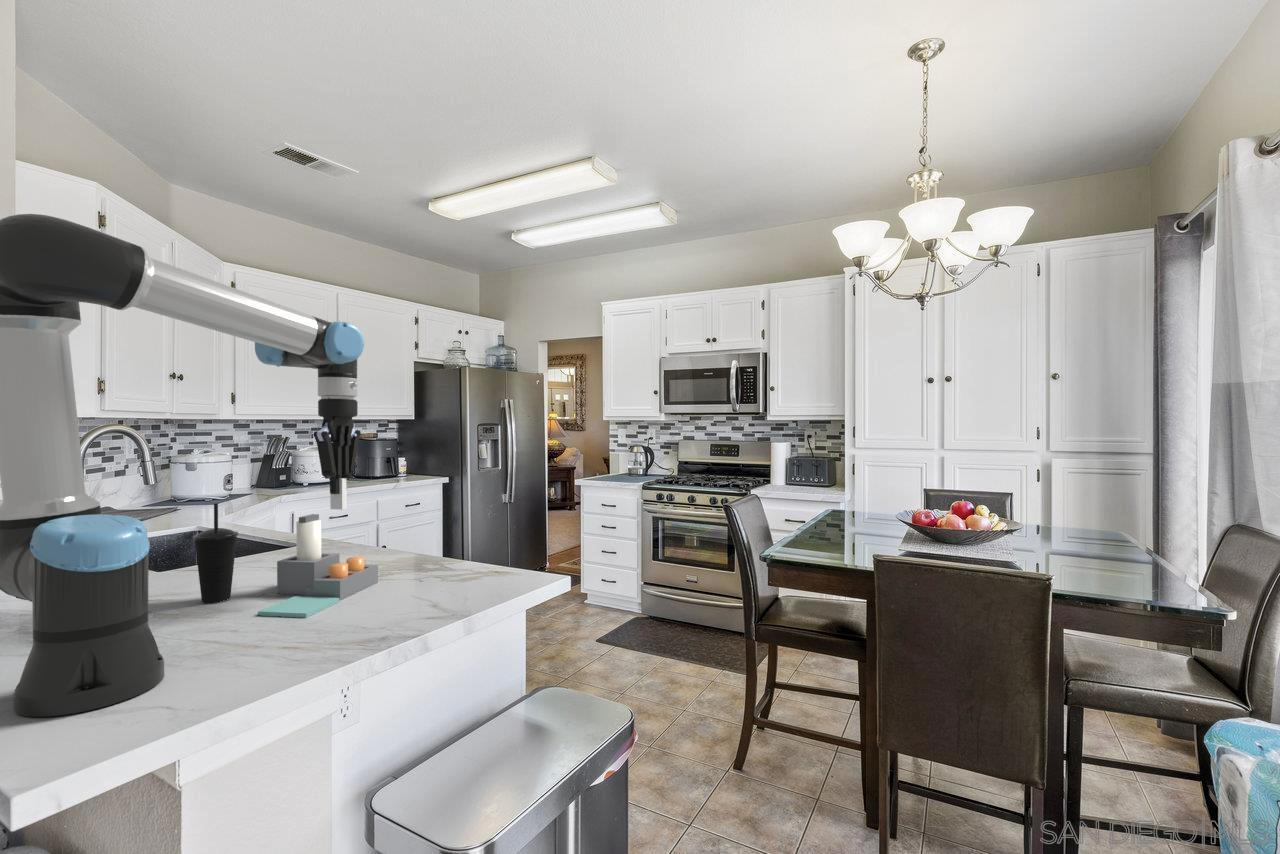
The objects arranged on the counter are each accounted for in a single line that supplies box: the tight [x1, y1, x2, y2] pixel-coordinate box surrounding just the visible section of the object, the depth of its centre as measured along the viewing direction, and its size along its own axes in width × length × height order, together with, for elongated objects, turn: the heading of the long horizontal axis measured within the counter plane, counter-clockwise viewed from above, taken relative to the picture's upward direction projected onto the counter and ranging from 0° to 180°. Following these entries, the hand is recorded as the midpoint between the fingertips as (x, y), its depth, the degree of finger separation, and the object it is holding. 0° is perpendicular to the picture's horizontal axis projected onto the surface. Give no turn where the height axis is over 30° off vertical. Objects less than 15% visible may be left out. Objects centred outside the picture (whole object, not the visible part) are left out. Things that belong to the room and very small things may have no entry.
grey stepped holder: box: [276, 552, 379, 601], centre depth 131 cm, size 14×16×7 cm
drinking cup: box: [192, 502, 239, 604], centre depth 123 cm, size 8×8×20 cm
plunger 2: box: [345, 556, 365, 572], centre depth 134 cm, size 4×4×5 cm
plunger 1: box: [329, 562, 348, 579], centre depth 128 cm, size 4×4×5 cm
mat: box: [257, 595, 340, 619], centre depth 118 cm, size 10×10×1 cm
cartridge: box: [295, 513, 322, 561], centre depth 132 cm, size 5×5×16 cm
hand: (338, 508), depth 128 cm, fingers closed
